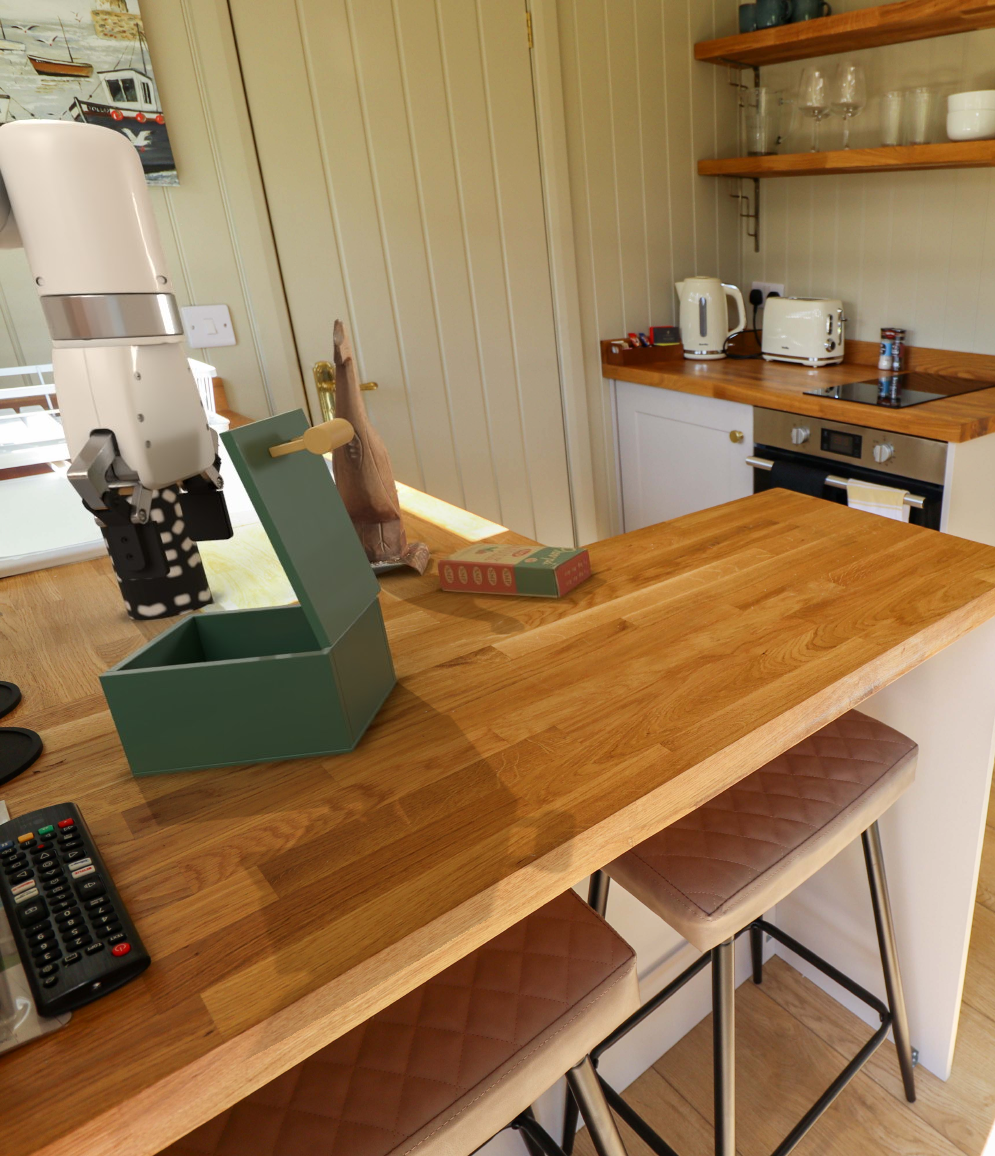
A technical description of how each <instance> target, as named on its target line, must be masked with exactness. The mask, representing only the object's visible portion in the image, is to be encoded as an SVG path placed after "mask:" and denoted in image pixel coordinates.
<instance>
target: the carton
mask: <svg viewBox="0 0 995 1156" xmlns="http://www.w3.org/2000/svg"><path fill="white" fill-rule="evenodd" d="M590 559H591V558H590V553H589V550H588V548H585V547H581V548H580V547H564V546H563V547H561V546H543V545H542V546H541V545H524V544H523V545H520V544H500V543H484V542H483V543H479V542H476V543H473V544H471V545H470V546H467V547H464V548H462V549H460V550H458V551H456V552H454V553H452V554H450V555H448V556H446V557H444V558H442V559H440V560H438V561H437V571H438V577H439V582H440V587H441V590H442V591H444V592H459V593H476V594H488V595H489V594H490V595H506V596H522V597H523V596H525V597H537V598H538V597H539V598H550V599H551V598H552V599H558V598H561V597H563V596H564V595H565V594H567V593H569V592H570V591H572V590H573V589H574V588H575V587H577V586H579V585H580V584H581V583H582V582H584V581H586V580H587V579H588V578H590V577H591V576H592V569H591V567H592V566H591V560H590Z"/></svg>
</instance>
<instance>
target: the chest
mask: <svg viewBox="0 0 995 1156" xmlns="http://www.w3.org/2000/svg"><path fill="white" fill-rule="evenodd" d="M98 679H99V683H100V685H101V689H102V692H103V695H104V697H105V701H106V703H107V706H108V708H109V712H110V714H111V718H112V720H113V724H114V725H115V729H116V731H117V734H118V737H119V740H120V743H121V747H122V749H123V752H124V755H125V757H126V760H127V763H128V766H129V769H130V772H131V773H132V777H133V778H140V777H141V778H142V777H149V776H156V775H166V774H174V773H184V772H193V771H203V770H209V769H211V770H212V769H218V768H227V767H236V766H245V765H254V764H262V763H270V762H271V763H272V762H279V761H280V762H281V761H287V760H297V759H306V758H316V757H323V756H331V755H341V754H348V753H349V754H350V753H353V752H354V751H355V749H356V747H357V745H358V744H359V742H360V741H361V739H363V736H364V734H365V733H366V731H367V730H368V728H369V727H370V725H371V724H372V722H373V720H374V719H375V717H376V716H377V714H378V712H379V711H380V710H381V708H382V706H383V705H384V703H385V702H386V700H387V698H388V697H389V695H390V694H391V692H392V690H394V687H395V686H396V684H397V683H398V680H397V676H396V672H395V667H394V662H393V657H392V654H391V647H390V644H389V638H388V634H387V630H386V625H385V621H384V617H383V611H382V607H381V602H380V598H379V596H376V597H375V598H374V599H373V600H372V601H371V603H370V604H369V605H368V606H367V607H366V608H365V609H364V610H363V612H362V613H361V614H360V615H359V616H358V617H357V618H356V619H355V621H354V622H353V623H352V624H351V625H350V626H349V627H348V628H347V630H346V631H345V632H344V633H343V634H342V635H341V636H340V638H339V639H338V640H337V641H336V642H335V643H334V644H333V645H332V646H331V647H327V648H324V649H322V648H321V647H320V645H319V642H318V640H317V638H316V636H315V634H314V632H313V630H312V628H311V626H310V624H309V622H308V619H307V617H306V615H305V613H304V611H303V609H302V607H301V605H300V603H293V604H292V603H291V604H283V605H281V604H280V605H271V606H261V607H252V608H251V607H249V608H239V609H228V610H217V611H207V612H206V611H205V612H195V613H194V612H193V613H187V615H185V616H184V617H182V618H181V619H180V620H178V621H176V622H175V623H174V624H172V625H170V626H169V627H167V629H165V630H163V631H162V632H161V633H159V634H158V635H156V636H155V637H154V638H152V639H150V640H149V641H148V642H147V643H145V644H143V645H141V646H140V647H139V648H138V649H136V650H135V651H133V652H132V653H130V654H129V655H128V656H126V657H125V658H123V659H122V660H121V661H119V662H117V663H116V664H115V665H113V666H112V667H110V668H109V669H107V670H106V671H105V672H102V674H99V675H98Z"/></svg>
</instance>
